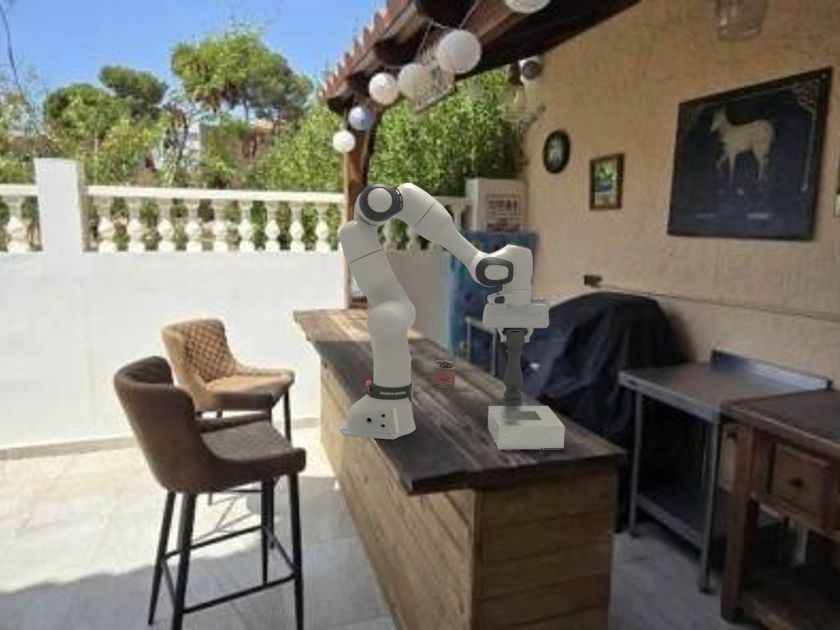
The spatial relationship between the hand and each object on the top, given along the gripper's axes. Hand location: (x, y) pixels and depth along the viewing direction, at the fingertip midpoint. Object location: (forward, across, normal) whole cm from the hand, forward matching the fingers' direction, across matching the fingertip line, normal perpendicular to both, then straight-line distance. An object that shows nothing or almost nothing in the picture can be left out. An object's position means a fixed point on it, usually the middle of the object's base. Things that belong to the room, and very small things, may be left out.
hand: (514, 341), depth 185 cm
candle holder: (+22, 0, 0) cm, 22 cm away
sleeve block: (+25, 0, +17) cm, 30 cm away
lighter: (+25, +18, -38) cm, 49 cm away
